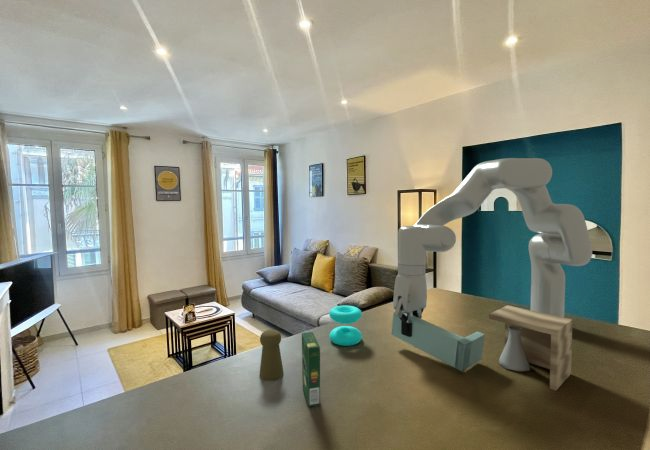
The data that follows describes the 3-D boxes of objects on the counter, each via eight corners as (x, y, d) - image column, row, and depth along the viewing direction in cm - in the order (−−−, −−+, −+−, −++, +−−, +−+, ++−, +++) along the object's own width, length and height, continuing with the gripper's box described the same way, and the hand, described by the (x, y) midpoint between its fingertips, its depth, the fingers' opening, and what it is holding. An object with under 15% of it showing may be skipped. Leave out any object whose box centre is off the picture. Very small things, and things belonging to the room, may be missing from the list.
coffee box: (321, 406, 68) (320, 345, 67) (308, 408, 67) (307, 347, 67) (314, 385, 76) (313, 331, 75) (302, 387, 75) (301, 332, 75)
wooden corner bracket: (506, 353, 91) (507, 305, 90) (570, 374, 80) (572, 319, 79) (488, 365, 84) (488, 314, 83) (555, 390, 73) (557, 330, 72)
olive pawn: (287, 370, 83) (286, 328, 83) (276, 382, 78) (275, 337, 77) (266, 366, 85) (265, 325, 85) (254, 378, 79) (253, 334, 79)
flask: (535, 373, 80) (536, 334, 79) (503, 371, 82) (504, 332, 81) (523, 360, 87) (524, 323, 87) (494, 357, 89) (495, 322, 88)
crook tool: (411, 326, 102) (414, 305, 101) (481, 359, 85) (484, 334, 84) (391, 334, 96) (393, 312, 95) (461, 371, 79) (465, 344, 78)
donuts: (365, 306, 103) (356, 316, 94) (365, 336, 104) (356, 349, 95) (335, 302, 107) (324, 312, 98) (336, 332, 108) (324, 344, 99)
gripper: (417, 264, 100) (416, 323, 101) (381, 271, 89) (381, 337, 90) (439, 268, 94) (438, 330, 95) (404, 276, 83) (403, 345, 84)
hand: (410, 333), depth 93 cm, fingers closed on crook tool, 3 cm apart
